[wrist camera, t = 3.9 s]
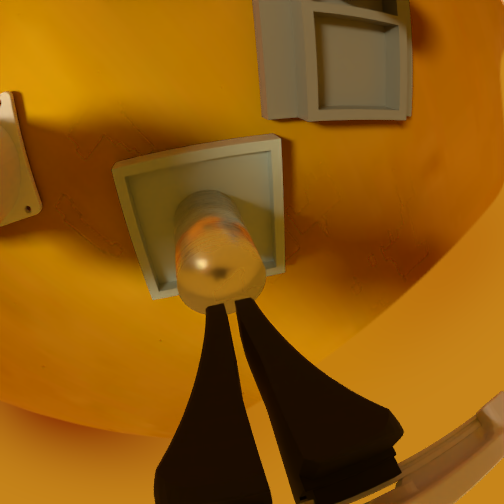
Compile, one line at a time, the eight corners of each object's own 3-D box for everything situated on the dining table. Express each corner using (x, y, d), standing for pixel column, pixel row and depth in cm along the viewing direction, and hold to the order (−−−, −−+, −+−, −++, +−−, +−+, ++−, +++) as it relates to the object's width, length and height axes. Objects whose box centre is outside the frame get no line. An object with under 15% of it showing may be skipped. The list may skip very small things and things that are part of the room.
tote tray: (153, 286, 21) (152, 300, 20) (115, 162, 15) (111, 169, 14) (278, 260, 22) (285, 272, 21) (273, 133, 17) (281, 138, 16)
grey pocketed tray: (262, 116, 16) (276, 124, 14) (244, -73, 9) (256, -91, 7) (400, 112, 18) (424, 121, 15) (390, -46, 10) (415, -53, 8)
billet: (180, 254, 19) (187, 322, 14) (167, 197, 17) (167, 255, 12) (242, 241, 20) (268, 305, 15) (235, 184, 17) (263, 236, 13)
